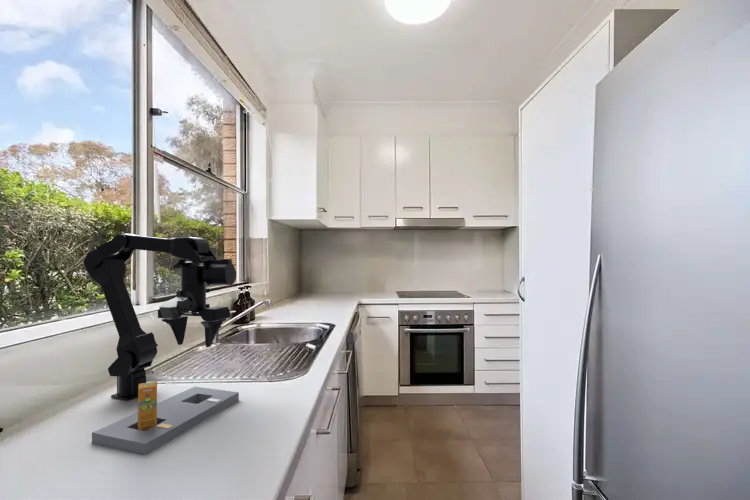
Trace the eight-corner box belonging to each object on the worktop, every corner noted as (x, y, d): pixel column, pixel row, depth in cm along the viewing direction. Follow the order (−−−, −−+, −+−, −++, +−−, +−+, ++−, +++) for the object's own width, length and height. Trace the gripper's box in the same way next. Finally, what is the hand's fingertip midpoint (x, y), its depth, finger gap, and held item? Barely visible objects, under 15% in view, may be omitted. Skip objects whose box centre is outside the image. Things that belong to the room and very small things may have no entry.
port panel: (91, 443, 68) (91, 431, 68) (194, 394, 92) (194, 385, 92) (145, 454, 64) (145, 442, 64) (238, 400, 88) (238, 391, 88)
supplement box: (137, 439, 70) (136, 388, 70) (138, 431, 73) (138, 383, 73) (156, 434, 71) (156, 385, 71) (157, 427, 74) (157, 380, 74)
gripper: (137, 287, 86) (137, 351, 86) (197, 289, 81) (197, 357, 80) (176, 284, 97) (176, 340, 97) (231, 284, 91) (232, 345, 91)
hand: (194, 345), depth 91 cm, fingers open, 9 cm apart
